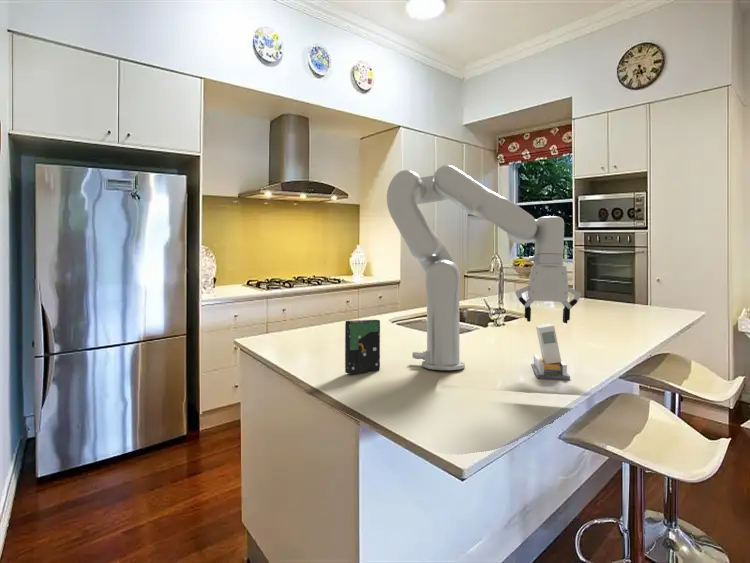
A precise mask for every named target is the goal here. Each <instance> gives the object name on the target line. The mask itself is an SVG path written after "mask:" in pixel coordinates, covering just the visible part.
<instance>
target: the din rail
mask: <svg viewBox="0 0 750 563" xmlns="http://www.w3.org/2000/svg"><path fill="white" fill-rule="evenodd" d="M558 364H559V365H560V370H554V369H544V363H543V362H542V361H541V359H540V357H539V355H538V354H533V363H531V364H530V366H531V367H532V370H533V372H534V375H535V376H536V379H538V380H539V379H540V380H558V381H559V380H560V381H562V380H563V381H571V375H570V374H569V373H568V371H567V370H568V366H567V364H566V362H564V361H563V359H561V362H558Z"/></svg>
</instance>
